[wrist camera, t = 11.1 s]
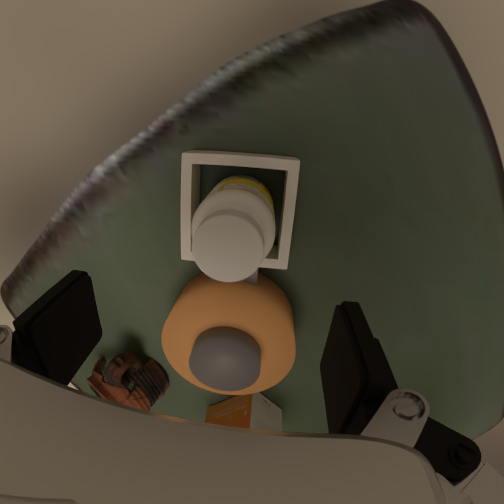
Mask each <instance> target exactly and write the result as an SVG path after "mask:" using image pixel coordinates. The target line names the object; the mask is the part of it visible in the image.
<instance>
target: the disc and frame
mask: <svg viewBox="0 0 504 504" xmlns="http://www.w3.org/2000/svg"><path fill="white" fill-rule="evenodd" d="M201 164H209V165H227V166H242V167H255V168H266V169H277V170H285V180H284V190H283V199H282V209H281V218H280V227H279V236H278V245H273V246H272V249H271V250H270V252H269V254H268V255H267V256H266V257H265V258H264V260H262V262H261V264H260V266H259V267H263V268H274V269H285V270H287V266H288V258H289V251H290V244H291V236H292V228H293V220H294V212H295V203H296V195H297V186H298V177H299V168H300V160H299V159H298V158H297V157H288V156H278V155H267V154H255V153H242V152H226V151H204V150H191V151H187V152H183V153H182V164H181V260H191V261H195V260H194V258H193V254H192V235H191V224H192V219H193V216H194V214H195V212H196V210H197V208H198V207H199V202H200V171H201ZM162 346H163V351H164V353H165V356H166V358H167V359H168V361H169V363H170V364H171V366H172V367H173V368H174V369H175V370H176V371H177V372H178V373H179V374H180V375H181V376H182V377H183V378H185V379H186V380H188V381H189V382H191V383H192V384H194V385H196V386H198V387H200V388H203V389H205V390H208V391H211V392H215V393H220V394H226V395H246V394H252V393H257V392H260V391H263V390H266V389H268V388H270V387H272V386H274V385H276V384H277V383H278V382H280V381H281V380H282V379H283V378H284V377H285V376H286V375H287V374H288V372H289V371H290V370H291V368H292V366H293V363H294V360H295V355H296V345H295V334H294V323H293V313H292V308H291V305H290V303H289V300H288V298H287V297H286V295H285V293H284V292H283V291H282V290H281V288H280V287H278V286H277V285H276V284H275V283H274V282H273V281H271V280H270V279H269V278H267V277H265V276H263V275H262V274H259V273H258V269H257V270H256V271H255V272H254V273H253V274H252V275H251V276H249V277H247V278H245V279H243V280H240V281H236V282H222V281H218V280H215V279H213V278H211V277H209V276H208V275H206V274H205V273H204V272H203V273H201V274H199V275H197V276H195V277H194V278H193V279H191V280H190V281H189V282H188V283H187V284H186V285H185V286H184V288H183V289H182V291H181V293H180V295H179V296H178V298H177V300H176V302H175V304H174V306H173V308H172V310H171V312H170V314H169V316H168V318H167V320H166V322H165V324H164V327H163V330H162Z"/></svg>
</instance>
